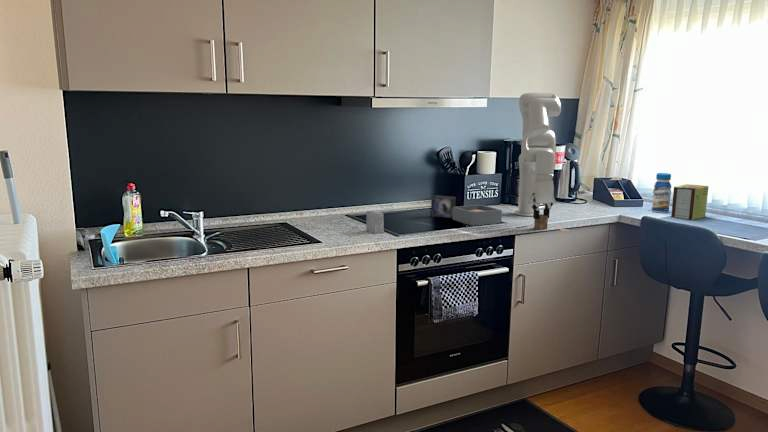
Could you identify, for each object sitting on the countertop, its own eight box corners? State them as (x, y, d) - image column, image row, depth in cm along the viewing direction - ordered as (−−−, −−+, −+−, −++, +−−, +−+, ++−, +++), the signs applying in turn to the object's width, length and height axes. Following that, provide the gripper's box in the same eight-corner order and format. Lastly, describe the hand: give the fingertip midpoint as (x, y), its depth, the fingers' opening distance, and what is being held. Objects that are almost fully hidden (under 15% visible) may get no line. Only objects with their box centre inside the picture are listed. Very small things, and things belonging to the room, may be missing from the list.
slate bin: (480, 218, 280) (480, 204, 278) (501, 224, 265) (501, 209, 264) (452, 221, 272) (452, 206, 271) (472, 227, 258) (472, 212, 257)
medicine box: (383, 233, 247) (384, 213, 245) (374, 234, 245) (374, 213, 243) (375, 229, 254) (375, 210, 252) (366, 230, 251) (366, 211, 250)
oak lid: (542, 225, 270) (542, 210, 269) (570, 233, 254) (571, 217, 253) (511, 229, 262) (512, 213, 261) (538, 237, 246) (539, 220, 245)
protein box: (705, 216, 289) (709, 186, 287) (692, 220, 280) (695, 188, 277) (684, 213, 297) (687, 183, 294) (670, 217, 288) (673, 186, 285)
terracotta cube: (475, 219, 272) (476, 209, 271) (484, 221, 269) (484, 210, 268) (468, 220, 269) (469, 210, 268) (477, 222, 265) (477, 211, 264)
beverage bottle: (671, 211, 303) (675, 173, 299) (665, 213, 297) (669, 174, 293) (654, 209, 308) (658, 172, 305) (648, 211, 303) (652, 173, 299)
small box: (430, 218, 281) (430, 196, 279) (435, 215, 287) (435, 194, 285) (450, 220, 276) (451, 198, 275) (455, 217, 282) (456, 196, 280)
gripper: (552, 175, 261) (549, 215, 264) (522, 177, 253) (520, 218, 257) (564, 177, 254) (561, 218, 258) (534, 179, 247) (531, 221, 250)
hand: (541, 217), depth 257 cm, fingers open, 5 cm apart
